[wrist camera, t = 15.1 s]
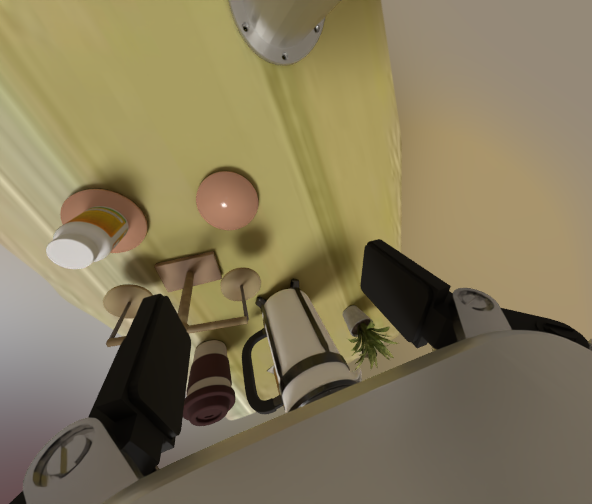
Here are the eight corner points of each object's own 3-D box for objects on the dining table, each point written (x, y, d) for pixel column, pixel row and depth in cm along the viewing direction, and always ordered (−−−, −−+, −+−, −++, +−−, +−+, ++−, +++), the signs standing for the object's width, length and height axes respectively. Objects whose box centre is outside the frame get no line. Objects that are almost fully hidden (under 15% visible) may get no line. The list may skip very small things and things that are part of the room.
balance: (250, 241, 42) (267, 298, 28) (256, 268, 45) (273, 330, 31) (109, 272, 36) (41, 362, 22) (128, 299, 39) (80, 393, 25)
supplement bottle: (78, 203, 29) (26, 231, 21) (125, 206, 31) (94, 233, 23) (89, 238, 32) (46, 275, 24) (132, 239, 33) (106, 273, 25)
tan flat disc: (48, 193, 29) (41, 196, 28) (130, 182, 31) (127, 184, 30) (91, 255, 34) (87, 259, 33) (159, 241, 36) (157, 245, 35)
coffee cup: (205, 330, 49) (202, 397, 37) (239, 342, 54) (246, 404, 42) (180, 356, 50) (168, 430, 38) (215, 365, 56) (215, 432, 44)
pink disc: (187, 175, 33) (187, 176, 32) (251, 166, 35) (252, 167, 34) (207, 232, 38) (206, 235, 37) (261, 221, 40) (262, 224, 39)
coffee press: (264, 270, 46) (320, 431, 21) (321, 284, 54) (410, 415, 29) (236, 326, 52) (255, 506, 27) (291, 332, 59) (345, 476, 35)
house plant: (324, 302, 57) (357, 354, 44) (368, 284, 60) (412, 329, 46) (329, 333, 65) (358, 385, 52) (368, 316, 67) (406, 362, 54)
